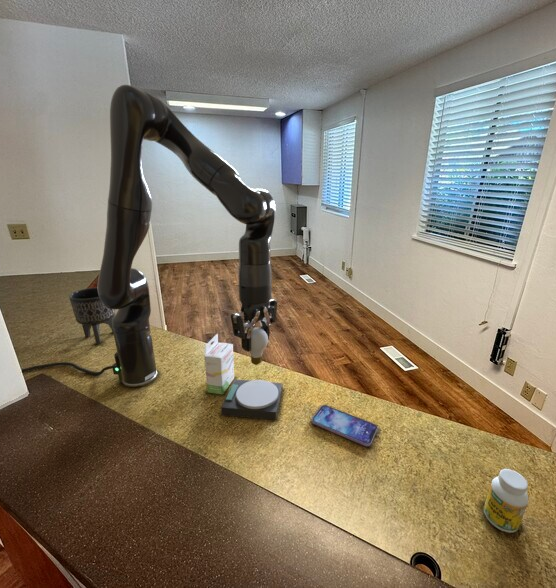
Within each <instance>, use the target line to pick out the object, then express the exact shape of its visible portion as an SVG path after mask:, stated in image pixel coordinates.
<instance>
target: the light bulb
mask: <svg viewBox="0 0 556 588" xmlns="http://www.w3.org/2000/svg"><path fill="white" fill-rule="evenodd" d="M250 337H251V351H249V352H248V353H249V354H250V362H251V364H252V365H254V366H258V365H260V364H262V360H263V354H264V350H265V349H266V347H267V345H268V343H269V340H268V336H267V334H266V332H265V331H264V330H263V329H261V327H255V328H254V329H253V330H252V332H251V336H250Z"/></svg>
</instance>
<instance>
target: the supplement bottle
mask: <svg viewBox="0 0 556 588" xmlns="http://www.w3.org/2000/svg"><path fill="white" fill-rule="evenodd" d="M528 487H529V484H528V480H527V479H526V478H525V477H524V476H523V475H522V474H520V473H519V472H517V471H516V470H513V469H510V468H502V469H501V470H500V471H499V474H498V476H495V477H494V478H493V479H492V480H491V484H490V487H489V490H488V493H487V496H486V499H485V503H484V506H483V513H484V516H485V517H486V519H487V520H488V521H489V523H490V524H491V525H492V526H493V527H495V528H497V529H498V530H500V531H502V532H505V533H516V532H517V531H518V530H519V528H520V525H521V523H522V520H523V517H524V514H525V512H526V509H527V506H528V504H529V495H528V492H527V491H528Z"/></svg>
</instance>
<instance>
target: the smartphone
mask: <svg viewBox="0 0 556 588" xmlns="http://www.w3.org/2000/svg"><path fill="white" fill-rule="evenodd" d="M311 423H312V424H313V425H314V426H317V427H320V428H321V429H324V430H327V431H329V432H331V433H333V434H336V435H338V436H341V437H343V438H346V439H348V440H350V441H351V442H355V443H357V444H359V445H362V446H365V447H370V446H371V445H372V444H373V442H374V439H375V437H376V434H377V432H378V426H377V425H376V424H375V423H373V422H370V421H367V420H365V419H362V418H360V417H357V416H355V415H353V414H350V413H347V412H344V411H342V410H339V409H336V408H334V407H332V406H329V405H326V404H322V405H321V406H320V407H319V409H318V410H317V411H316V412H315V414H314V415H313V416H312V418H311Z"/></svg>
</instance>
